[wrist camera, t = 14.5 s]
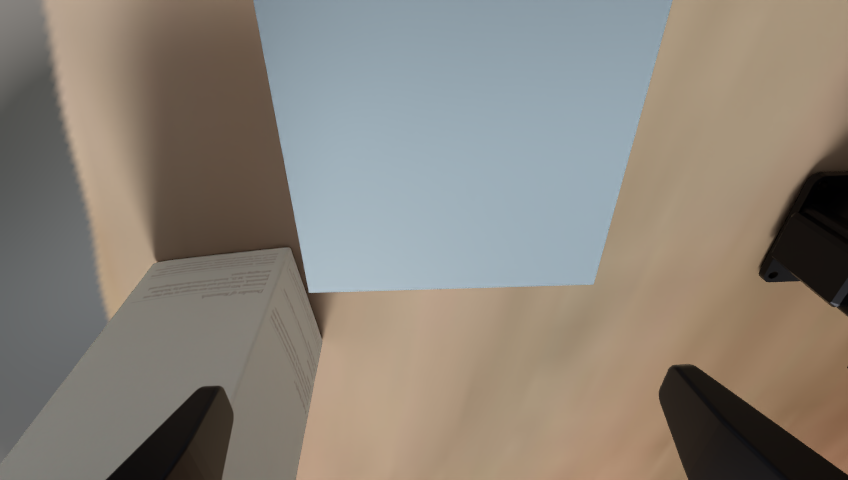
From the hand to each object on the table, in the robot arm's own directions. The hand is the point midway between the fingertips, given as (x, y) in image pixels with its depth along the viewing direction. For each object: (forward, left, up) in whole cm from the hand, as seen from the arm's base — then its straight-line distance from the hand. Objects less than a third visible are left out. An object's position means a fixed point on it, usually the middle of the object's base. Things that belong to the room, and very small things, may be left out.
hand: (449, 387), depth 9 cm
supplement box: (+10, +9, -13) cm, 19 cm away
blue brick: (0, -5, -4) cm, 7 cm away
